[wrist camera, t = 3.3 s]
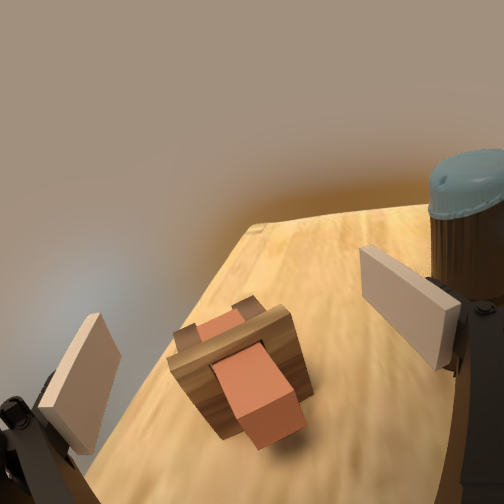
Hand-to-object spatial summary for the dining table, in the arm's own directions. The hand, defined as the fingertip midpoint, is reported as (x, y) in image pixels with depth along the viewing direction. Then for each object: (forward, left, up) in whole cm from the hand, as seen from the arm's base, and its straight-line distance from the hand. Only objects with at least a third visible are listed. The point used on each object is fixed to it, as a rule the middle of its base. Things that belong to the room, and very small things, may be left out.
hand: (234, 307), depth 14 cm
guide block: (+14, -9, -24) cm, 29 cm away
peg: (+8, -5, -17) cm, 20 cm away
